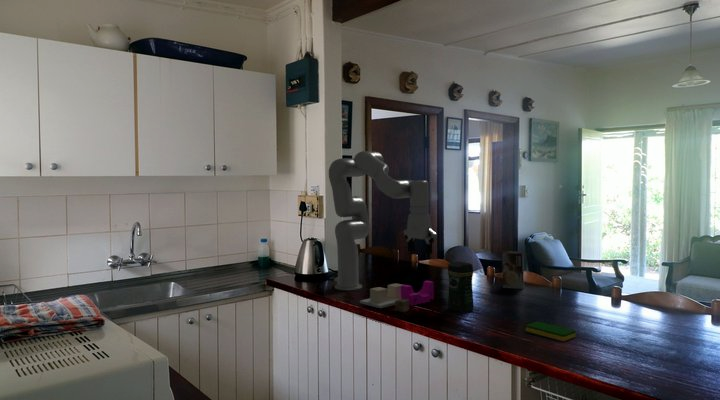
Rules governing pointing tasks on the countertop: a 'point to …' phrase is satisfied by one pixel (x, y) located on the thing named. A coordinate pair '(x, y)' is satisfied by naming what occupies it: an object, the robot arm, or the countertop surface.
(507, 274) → the coffee box
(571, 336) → the dish sponge
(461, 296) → the coffee jar
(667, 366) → the countertop surface
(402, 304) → the cube
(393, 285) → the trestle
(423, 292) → the toy block
